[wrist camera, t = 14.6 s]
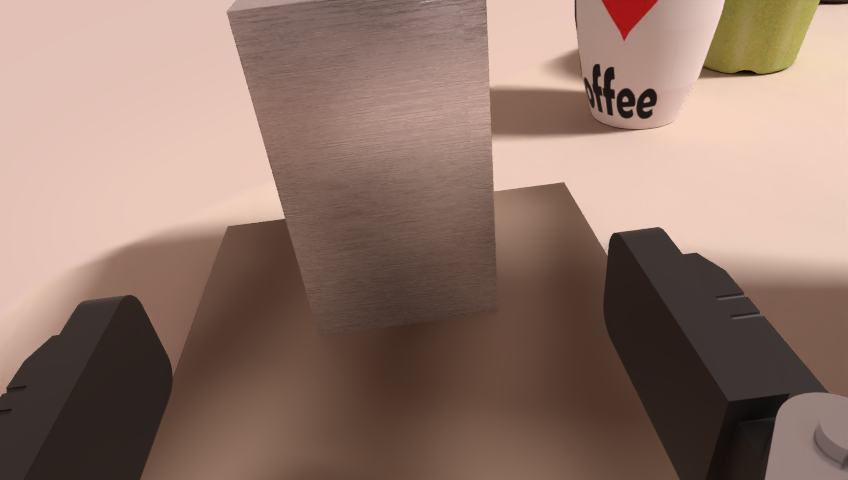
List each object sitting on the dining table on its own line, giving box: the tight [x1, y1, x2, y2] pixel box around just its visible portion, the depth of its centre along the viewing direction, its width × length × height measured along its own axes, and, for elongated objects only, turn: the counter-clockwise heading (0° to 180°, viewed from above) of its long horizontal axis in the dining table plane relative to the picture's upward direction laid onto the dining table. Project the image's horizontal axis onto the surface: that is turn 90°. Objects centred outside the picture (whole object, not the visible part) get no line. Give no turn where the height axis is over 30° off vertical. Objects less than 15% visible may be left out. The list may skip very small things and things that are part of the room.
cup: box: [575, 0, 725, 129], centre depth 33 cm, size 8×8×10 cm
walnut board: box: [140, 182, 680, 480], centre depth 18 cm, size 16×22×1 cm
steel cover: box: [227, 0, 498, 336], centre depth 20 cm, size 6×6×12 cm
